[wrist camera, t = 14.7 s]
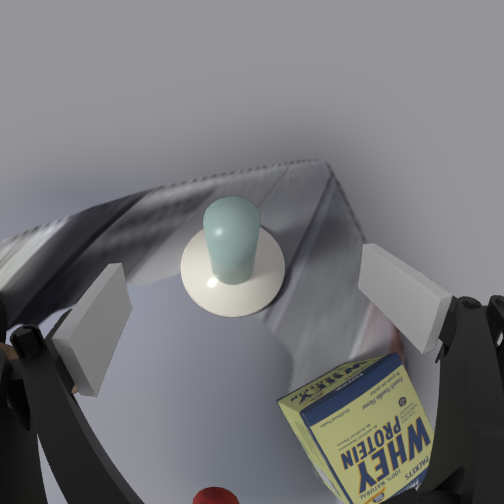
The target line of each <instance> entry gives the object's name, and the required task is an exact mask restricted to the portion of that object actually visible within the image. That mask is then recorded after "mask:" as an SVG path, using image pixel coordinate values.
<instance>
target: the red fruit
mask: <svg viewBox="0 0 504 504" xmlns="http://www.w3.org/2000/svg"><path fill="white" fill-rule="evenodd" d="M193 504H239V502H238V500H237V497H236V496H235V495H234V494H233V493H231V492H230V491H228V490H226V489H224V488H220V487H209V488H205V489H203V490H201V491H199V492H198V493H197V495H196V496H195V497H194V498H193Z"/></svg>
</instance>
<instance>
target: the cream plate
mask: <svg viewBox="0 0 504 504" xmlns="http://www.w3.org/2000/svg"><path fill="white" fill-rule="evenodd" d="M284 274H285V262H284V257H283V254H282V251H281V249H280V247H279V245H278V243H277V242H276V240H275V239H274V238H273V237H272V236H271V235H270V234H269V233H268V232H267V231H265V230H264V229H263V228H261V227H260V230H259V236H258V243H257V249H256V256H255V262H254V268H253V272H252V274H251V276H250V277H249V278H248V279H247V280H246V281H245V282H243V283H241V284H238V285H228V284H224V283H222V282H220V281H219V280H218V279H217V278H216V277H215V276H214V274H213V271H212V267H211V262H210V257H209V252H208V246H207V241H206V236H205V230H204V228H203V229H202V230H200V231H199V232H198V233H197V234H196V235H195V236H193V238H192V239H191V240H190V241H189V243H188V244H187V246H186V248H185V250H184V252H183V256H182V260H181V276H182V280H183V283H184V286H185V288H186V290H187V292H188V293H189V295H190V297H191V298H192V299H193V300H194V302H195V303H196V304H197V305H199V306H200V307H201V308H203V309H204V310H205V311H207V312H209V313H212V314H214V315H217V316H220V317H225V318H240V317H245V316H249V315H252V314H255V313H257V312H259V311H260V310H262V309H263V308H265V307H266V306H267V305H268V304H269V303H271V301H272V300H273V299H274V298H275V296H276V295H277V293H278V292H279V290H280V287H281V285H282V283H283V279H284Z"/></svg>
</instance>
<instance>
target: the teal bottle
mask: <svg viewBox="0 0 504 504" xmlns="http://www.w3.org/2000/svg"><path fill="white" fill-rule="evenodd" d="M260 224H261V218H260V214H259V211H258V210H257V208H256V207H255V206H254V205H253V204H252V203H251V202H250V201H248V200H246V199H244V198H240V197H224V198H221V199H218V200H216V201H215V202H213V203H212V204H211V205H210V206H209V207H208V208H207V210H206V211H205V214H204V217H203V225H204V230H205V236H206V241H207V246H208V252H209V257H210V262H211V267H212V271H213V274H214V276H215V277H216V278H217V279H218V280H219V281H220V282H222V283H224V284H228V285H238V284H241V283H243V282H245V281H246V280H247V279H248V278H249V277H250V276H251V274H252V272H253V268H254V262H255V256H256V249H257V243H258V236H259V230H260Z"/></svg>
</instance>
